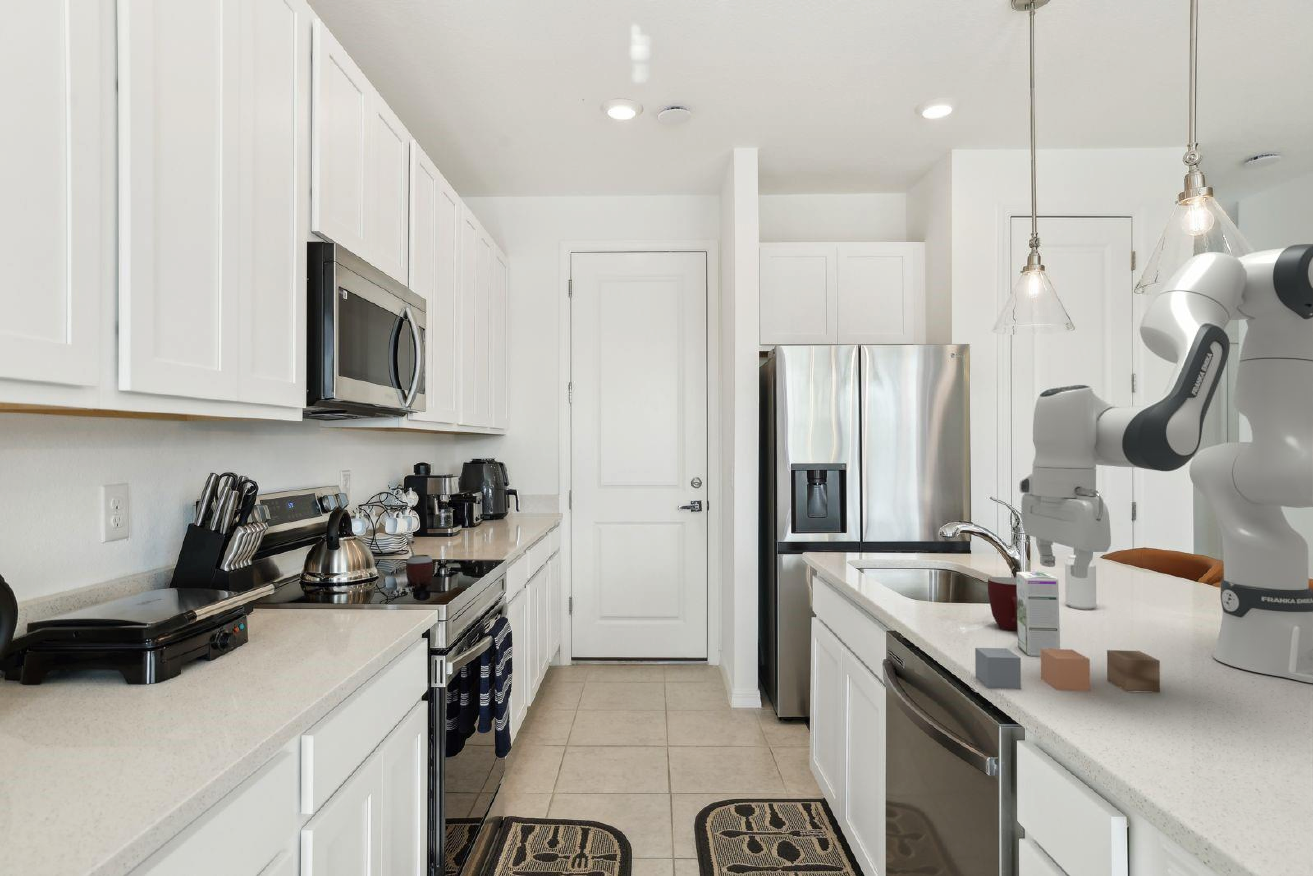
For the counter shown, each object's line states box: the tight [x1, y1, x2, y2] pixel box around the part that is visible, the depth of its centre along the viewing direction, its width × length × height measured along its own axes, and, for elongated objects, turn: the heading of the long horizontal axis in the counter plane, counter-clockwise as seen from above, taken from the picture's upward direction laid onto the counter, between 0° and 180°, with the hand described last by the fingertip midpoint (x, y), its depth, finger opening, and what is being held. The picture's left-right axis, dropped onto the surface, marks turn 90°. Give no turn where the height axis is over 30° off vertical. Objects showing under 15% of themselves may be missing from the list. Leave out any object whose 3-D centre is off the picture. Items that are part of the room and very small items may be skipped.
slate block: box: [974, 647, 1022, 690], centre depth 109 cm, size 5×5×5 cm
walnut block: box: [1106, 649, 1161, 693], centre depth 108 cm, size 5×5×5 cm
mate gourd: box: [400, 532, 434, 589], centre depth 185 cm, size 8×8×15 cm
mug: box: [987, 576, 1018, 632], centre depth 140 cm, size 10×8×10 cm
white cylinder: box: [1064, 554, 1097, 611], centre depth 159 cm, size 6×6×12 cm
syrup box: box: [1016, 571, 1061, 658], centre depth 125 cm, size 6×6×14 cm
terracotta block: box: [1040, 648, 1091, 692], centre depth 109 cm, size 5×5×5 cm
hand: (1062, 571), depth 109 cm, fingers open, 8 cm apart
